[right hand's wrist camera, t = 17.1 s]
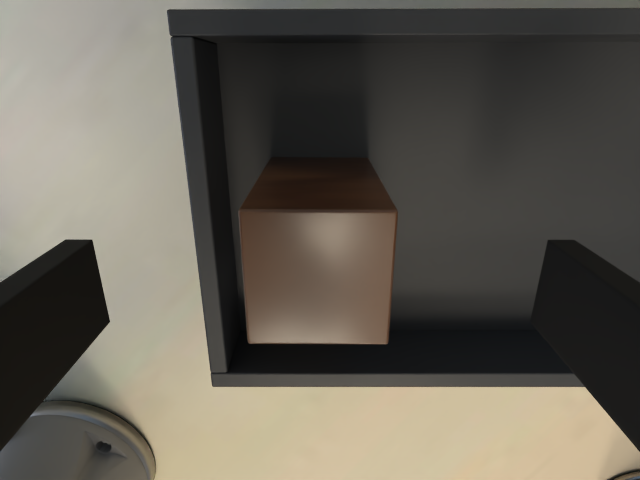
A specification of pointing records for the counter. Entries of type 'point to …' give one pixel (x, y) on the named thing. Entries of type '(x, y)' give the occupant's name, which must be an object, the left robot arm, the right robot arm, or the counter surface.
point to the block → (318, 253)
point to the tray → (418, 171)
